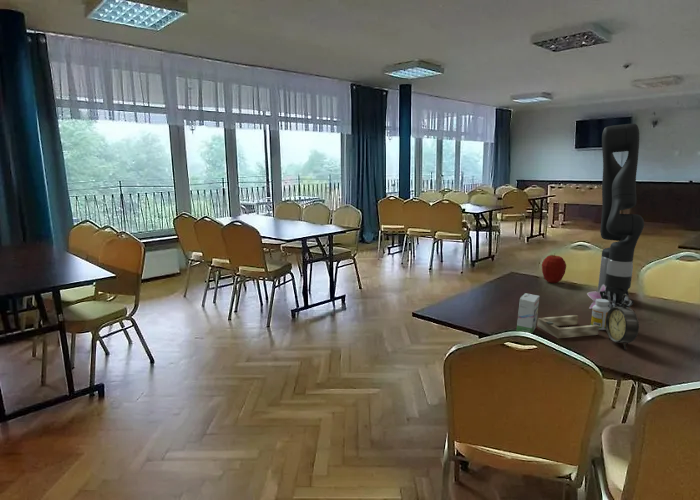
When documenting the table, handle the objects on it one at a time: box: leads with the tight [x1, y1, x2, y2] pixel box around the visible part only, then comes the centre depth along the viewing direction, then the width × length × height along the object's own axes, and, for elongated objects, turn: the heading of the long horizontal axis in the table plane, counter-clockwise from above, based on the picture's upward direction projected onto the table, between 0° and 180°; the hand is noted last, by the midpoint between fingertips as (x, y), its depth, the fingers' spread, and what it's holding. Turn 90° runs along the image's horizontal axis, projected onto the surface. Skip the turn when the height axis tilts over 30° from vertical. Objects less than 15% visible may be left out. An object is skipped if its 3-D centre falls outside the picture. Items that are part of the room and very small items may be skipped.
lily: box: [586, 284, 606, 310], centre depth 176 cm, size 12×12×10 cm
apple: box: [541, 254, 567, 284], centre depth 214 cm, size 10×10×14 cm
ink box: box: [515, 292, 540, 334], centre depth 155 cm, size 9×5×12 cm, turn 148°
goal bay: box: [536, 314, 600, 339], centre depth 156 cm, size 15×11×3 cm
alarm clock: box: [605, 294, 640, 351], centre depth 143 cm, size 11×5×16 cm, turn 0°
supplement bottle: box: [590, 299, 610, 331], centre depth 158 cm, size 5×5×10 cm
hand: (613, 321), depth 159 cm, fingers closed
